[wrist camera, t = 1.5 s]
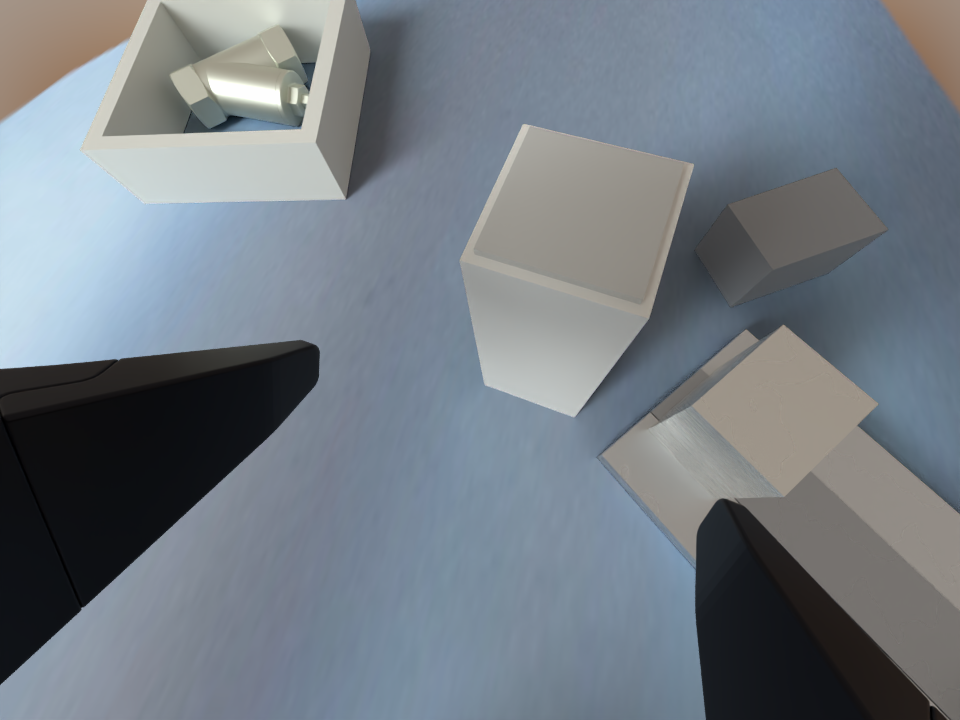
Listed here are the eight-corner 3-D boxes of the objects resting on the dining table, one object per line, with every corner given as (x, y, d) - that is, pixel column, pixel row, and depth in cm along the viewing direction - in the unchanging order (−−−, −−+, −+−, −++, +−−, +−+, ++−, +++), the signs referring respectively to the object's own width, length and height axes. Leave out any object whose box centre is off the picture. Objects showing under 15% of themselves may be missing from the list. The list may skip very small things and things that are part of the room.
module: (574, 417, 21) (652, 314, 10) (484, 385, 22) (458, 254, 11) (602, 331, 23) (699, 152, 11) (517, 303, 24) (525, 112, 12)
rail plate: (1085, 1010, 14) (1516, 1388, 8) (596, 457, 20) (631, 438, 15) (1233, 779, 15) (1683, 950, 9) (733, 338, 22) (814, 278, 16)
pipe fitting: (334, 123, 30) (296, 64, 32) (312, 73, 26) (270, 9, 28) (234, 173, 29) (199, 109, 31) (196, 128, 25) (159, 58, 27)
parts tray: (145, 204, 28) (79, 150, 24) (197, 59, 33) (151, -8, 28) (345, 199, 27) (315, 142, 23) (370, 50, 32) (349, -20, 27)
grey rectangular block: (729, 308, 23) (773, 269, 19) (693, 251, 24) (727, 204, 20) (826, 274, 23) (888, 229, 19) (786, 219, 24) (836, 167, 21)
